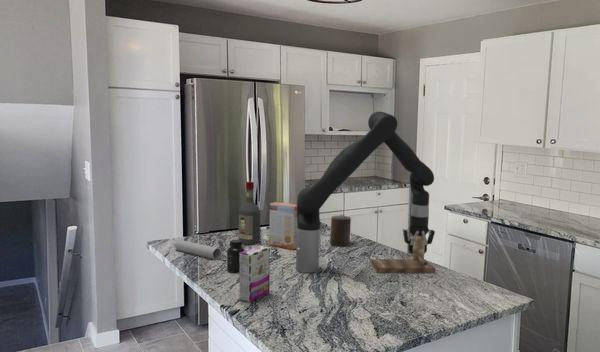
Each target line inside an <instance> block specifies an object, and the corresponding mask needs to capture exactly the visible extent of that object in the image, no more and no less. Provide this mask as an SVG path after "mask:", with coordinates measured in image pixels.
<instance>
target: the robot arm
mask: <svg viewBox="0 0 600 352" xmlns="http://www.w3.org/2000/svg"><path fill="white" fill-rule="evenodd" d="M367 124H368V128H369V131H368V132H367V133H366V134H365V135H364V136H362V137H361V138H360V139H358V140H357V141H355V142H353V143H351V144H349V145H347V146H346V147H345V148H343V149H342V150H341V151H340V152H339V153H338V154H337V155H336V157H334V158H333V160H332V161H331V162H330V164H329V165H328V167H327V169H326V170H325V172H324V173H323V175H322V176H321V177H320V179H319V180H317V181H316V182H315V183H314V184H313V185H312V186H311V187H305V188H302V189H301V190H300V192H299V193H298V195H297V198H296V199H297V202H296V205H297V245H296V249H295V269H296V272H298V273H299V272H301V273H307V274H310V273H317V272H319V270H320V269H319V268H320V243H321V218H320V217H321V216H320V209H321V208H322V206H323V205H324V204H325V203H326V201H328V198H330V196H331V195H332V194H333V193H334V191H336V190H337V189H338V188H339V187H340V186H341V185H342V184H343V183H344V182H346V180H347V179H348V178H349V177H350V176H351V175H352V174H354V172H355V171H356V170H357V169H358V168H359V167H360V166H361V165H362V164H363V163H364V161H365V160H367V158H368V157H369V156H370V155H371V154H372V153H373V152H374V151H376V149H377V148H379V147H380V146H381V145H382V144H383V143H384V144H385V145H386V146H387V147H388V149H389V150H390V151H391V152H392V154H393V155H394V156H395V157H396V159H397V160H398V161H399V163H400V164H401V166H402V167H404V169H405V170H406V171H407V172H409V173H410V175H409V184H410V189H411V194H412V198H411V199H412V200H411V208H410V223H409V227H408V229H405V228H403V229H402V234H403V235H402V236H403V240H404V242H405V244H407V245H408V250H407V251H408V252H409V254H411V253H413V240H414V241H415V239H416V237H417V236H423V239H424V241H425V249H424V255H425V254H426V253H427V250H428V245H431V244H432V243H433V239H434V236H435V234H436V231H435V230H433V229H430V228H429V217H430V208H429V207H430V205H429V204H430V193H429V191H427V190H425V188H424V187H428V186H431V185H432V184H433V183H434V181H435V175H434V173H433V170H432V169H431V168H430V167H428V165H426V164H425V163H424V162H423V161H421V159H420V158H419V156H418V155H417V154H416V153H415V151H414V150H413V149H412V148H411V147H410V146H409V145H408V144H407V143H406V142H405V141H404V140H403V139H402V138H401V137H400V136H399V135H398V133H396V130H397V128H398V120H397V118H396V117H395V116H394V115H392V114H390V113H387V112H385V111H374V112H373V113H371V114H370V115H369V118H368V123H367ZM409 234H411V235H410V237H409V236H408V235H409ZM427 234H428V236H427V237H428V238H427V237H426V235H427ZM412 236H413V238H412Z"/></svg>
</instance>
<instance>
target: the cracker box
mask: <svg viewBox="0 0 600 352" xmlns="http://www.w3.org/2000/svg"><path fill="white" fill-rule="evenodd" d="M268 229H269V233H268V234H269V236H268V237H269V238H268V240H269V241H268V246H271V247H276V248H277V247H278V248H283V249H288V250H290V251H291V250H293V251H294V250H296V245H297V203H296V204H295V203H287V202H278V201H275V202H271V203H269V228H268Z"/></svg>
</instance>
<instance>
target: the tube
mask: <svg viewBox="0 0 600 352" xmlns="http://www.w3.org/2000/svg"><path fill="white" fill-rule="evenodd" d="M174 248H175V249H176V250H177V252H182V253H186V254H191V255H194V256H199V257H203V258H207V259H210V260H214V261H216V260H219V259H220V257H221V256H222V250H221V248H220V247H215V246H210V245H205V244H202V243H196V242H192V241H187V240H183V239H181V240H177V241H176V243H175V244H174Z"/></svg>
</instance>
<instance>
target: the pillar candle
mask: <svg viewBox="0 0 600 352" xmlns="http://www.w3.org/2000/svg"><path fill="white" fill-rule="evenodd" d="M351 222H352V218H351V216H346V215H332V216H331V221H330V237H329V243H330V245H331V246H334V247H339V248H340V247H341V248H343V247H344V248H345V247H349V246H350V245H351V243H350V242H351Z"/></svg>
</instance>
